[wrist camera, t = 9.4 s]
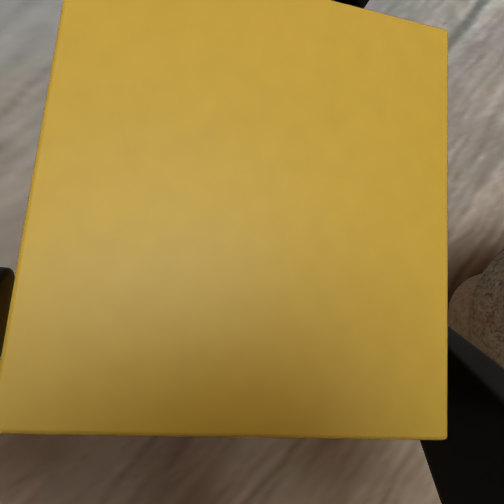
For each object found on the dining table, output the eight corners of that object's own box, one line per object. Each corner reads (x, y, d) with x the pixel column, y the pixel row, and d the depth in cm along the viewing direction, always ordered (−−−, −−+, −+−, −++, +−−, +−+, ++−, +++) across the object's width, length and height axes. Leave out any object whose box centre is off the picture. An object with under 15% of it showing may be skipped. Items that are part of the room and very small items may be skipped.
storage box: (265, 357, 18) (450, 449, 6) (110, 348, 17) (-17, 444, 5) (276, 197, 19) (449, 28, 8) (132, 176, 18) (73, -70, 6)
